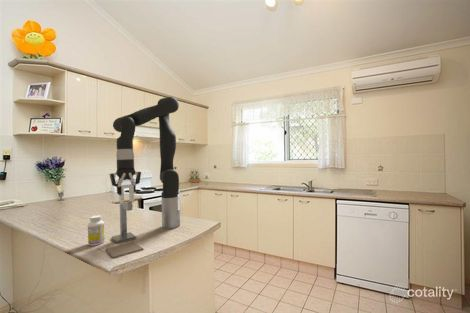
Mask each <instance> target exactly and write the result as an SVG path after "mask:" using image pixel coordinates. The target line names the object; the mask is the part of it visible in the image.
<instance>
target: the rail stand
mask: <svg viewBox="0 0 470 313" xmlns="http://www.w3.org/2000/svg"><path fill="white" fill-rule="evenodd" d="M127 211H133V202H132V201H129V200H128V201H127V202H125V201H124V203H123V204H122V203H120V202H119V229H120V233H119V234H116V235H112V236H111V237H110V239H111V240H112V241H113V242H114V243H115V244H121V243H126V242H130V241H134V240H136V239H137V236H136V235H135V234H134V233H133V232H132V231H131V232H130V231H129V232H128V225H127V224H128V223H127V222H128V217H127Z"/></svg>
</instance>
